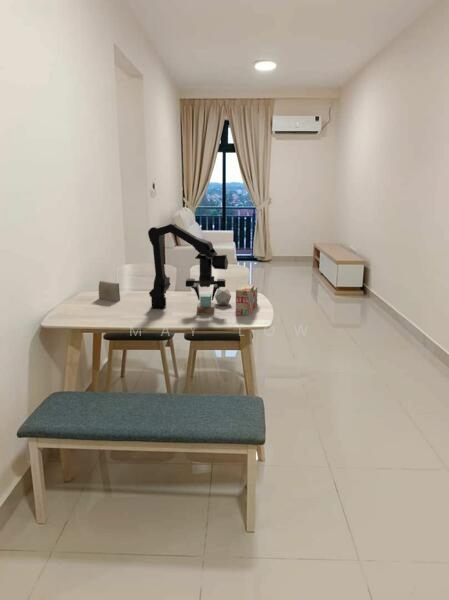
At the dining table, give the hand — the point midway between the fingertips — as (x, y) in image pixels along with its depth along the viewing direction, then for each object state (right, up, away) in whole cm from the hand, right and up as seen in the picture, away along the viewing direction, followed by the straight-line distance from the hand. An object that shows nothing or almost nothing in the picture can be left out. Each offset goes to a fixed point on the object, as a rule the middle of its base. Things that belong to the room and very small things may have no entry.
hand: (205, 300), depth 214 cm
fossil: (-52, 0, +21) cm, 56 cm away
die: (+8, -2, +14) cm, 16 cm away
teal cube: (0, -2, +1) cm, 3 cm away
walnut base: (0, -5, +1) cm, 6 cm away
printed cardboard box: (+20, -5, +5) cm, 21 cm away
